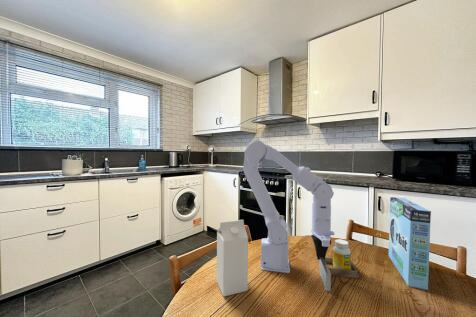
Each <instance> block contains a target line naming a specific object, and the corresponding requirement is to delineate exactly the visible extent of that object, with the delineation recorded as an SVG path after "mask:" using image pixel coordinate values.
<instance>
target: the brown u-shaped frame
mask: <svg viewBox="0 0 476 317" xmlns="http://www.w3.org/2000/svg"><path fill="white" fill-rule="evenodd" d="M325 262H326V264H331V265H333V256H332V257H331V256H325ZM328 269H329V271H330V273H331V276H335V277H343V278H353V279H358V280H359V279H360V278H361V273H360V271H359V269H358V268H357V266H356V265H355V263H354V262H353V261H352V260H351V270H344V269H335V268H333V267H328Z"/></svg>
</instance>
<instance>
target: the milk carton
mask: <svg viewBox="0 0 476 317" xmlns="http://www.w3.org/2000/svg"><path fill="white" fill-rule="evenodd" d="M244 221H245V220H244V219H239V220H230V221H220V222H219V228H218V230H217V231H216V283H217V285H218V287H219V289H220V292H221V295H222V296H223V297H227V296H232V295H236V294H240V293H244V292H248V285H249V284H248V282H249V280H248V278H249V277H248V274H249V273H248V272H249V265H248V264H249V236H248V232H247V230H246V227H245V222H244Z"/></svg>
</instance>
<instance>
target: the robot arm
mask: <svg viewBox="0 0 476 317" xmlns="http://www.w3.org/2000/svg"><path fill="white" fill-rule="evenodd" d="M263 159H265V160H268V161H269V160H270V161H274V162H275V163H276V164H278V165H279V166H281V167H282V168H283V169H284V170H286V171H287V172H289V173H290V174H291V175H292V180H293V181H294V182H295V183H297V184H298V185H299V186H301V187H302V188H303V189H304V190H306V191H308V192H310V193H311V194H312V195H313V196H312V204H311V231H310V232H311V236H310V237H311V239H312V241H313V244H314V248H315V250H314V251H315V254H316V257H317V258H316V259H317V260H319V257H324V260H325V257H327V252H328V250H329V248H330V246H331V245H332V240H331V237H332V236H335V232H334V231H332V229H331V228H332V225H331V224H332V214H331V213H332V205H331V204H332V201H331V200H332V198H333V196H334V194H335V193H334V191H333V188H332V186H331V185H330V184H328V183H326V182H325V181H324V180H323V179H324V178H323V177H321V176H318V175H317V174H314V172H312V169H311V168H309V167H306V166H304V165H303V166H298V165H296V164H295V163H294V162H292V161H291V160H290V159H288V158H287V157H286V156H285V155H284V154H282V153H281V152H280V151H278V150H277V149H276V148H274V147H272V146H270V145H268V144H265V143H264V142H263V141H261V140H259V139H254V140H252V141H250V142H249V143H248V144H247V146H246V148H245V150H244V159H243V165H242V166H243V167H242V171H243V173H244V175H245V179H246V180H247V181H248V185H249V187H250V188H251V191H252V193H253V194H254V197H255V200H256V201H257V204H258V206H259V208H260V211H261V212H262V215H263V218H264V222H265V226H266V227H267V230H268V231H267V238H266V237H265V238H261V242H260V243H261V244H260V258H259V259H260V270H261V271H262V270H263V271H270V272H278V273H284V274H290V273H291V269H290V267H291V266H290V260H289V238H288V237H289V234H288V229H287V228H288V223H287V222H286V220H285V219H284V218H283V217H282V216H281V215H280V212H278V210H277V208H276V206H275V203H274V202H273V199H272V198H271V195H270V193H269V191H268V189H267V187H266V185H265V184H266V183H264V181H263V178H262V175H261V174H260V172H259V167H260V166H261V162H262V161H263Z"/></svg>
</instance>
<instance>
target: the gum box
mask: <svg viewBox="0 0 476 317" xmlns="http://www.w3.org/2000/svg"><path fill="white" fill-rule="evenodd" d="M389 198H390V199H389V202H390V203H389V224H388V226H389V227H388V228H389V230H388V231H389V232H388V234H389V235H388V257H389V259H390V260H391V262H392V263H393V265H394V266H395V268H396V269H397V271H398V272H399V275H400V276H401V277H402V279H403V280H404V282H405V283H406V285H407V286H408V287H411V288H415V289H420V290H424V291H429V272H430V247H431V246H430V245H431V244H430V242H431V240H430V239H431V218H432V210H429V209H427V208H425V207H422V206H421V205H419V204H417V203H415V202H413V201H411V200H409V199H407V198H406V197H389Z"/></svg>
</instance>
